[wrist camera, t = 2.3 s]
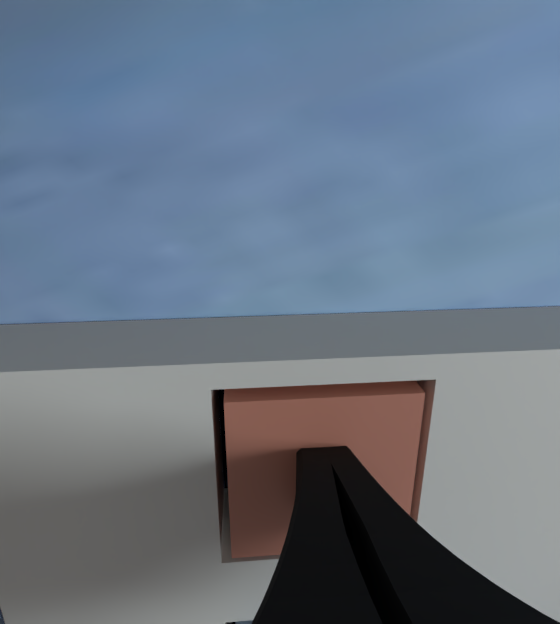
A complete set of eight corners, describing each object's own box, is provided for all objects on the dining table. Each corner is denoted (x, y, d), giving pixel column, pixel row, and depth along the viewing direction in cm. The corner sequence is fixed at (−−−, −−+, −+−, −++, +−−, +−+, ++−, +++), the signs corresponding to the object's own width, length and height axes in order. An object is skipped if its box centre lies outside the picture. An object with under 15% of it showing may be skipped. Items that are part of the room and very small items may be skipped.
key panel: (508, 632, 20) (552, 713, 17) (77, 672, 18) (49, 768, 16) (590, 305, 15) (674, 344, 12) (-5, 324, 13) (-71, 374, 10)
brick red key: (377, 476, 16) (406, 545, 13) (232, 485, 16) (231, 557, 13) (389, 344, 14) (425, 392, 11) (226, 351, 14) (223, 402, 11)
